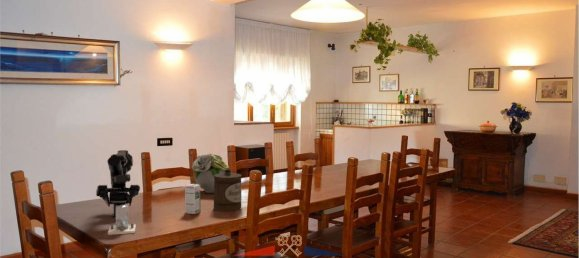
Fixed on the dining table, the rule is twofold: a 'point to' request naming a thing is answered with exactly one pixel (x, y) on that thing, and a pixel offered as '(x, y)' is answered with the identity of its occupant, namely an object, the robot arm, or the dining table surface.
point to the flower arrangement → (208, 170)
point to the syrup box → (192, 199)
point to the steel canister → (122, 216)
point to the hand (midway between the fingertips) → (119, 206)
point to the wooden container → (227, 191)
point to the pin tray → (121, 229)
